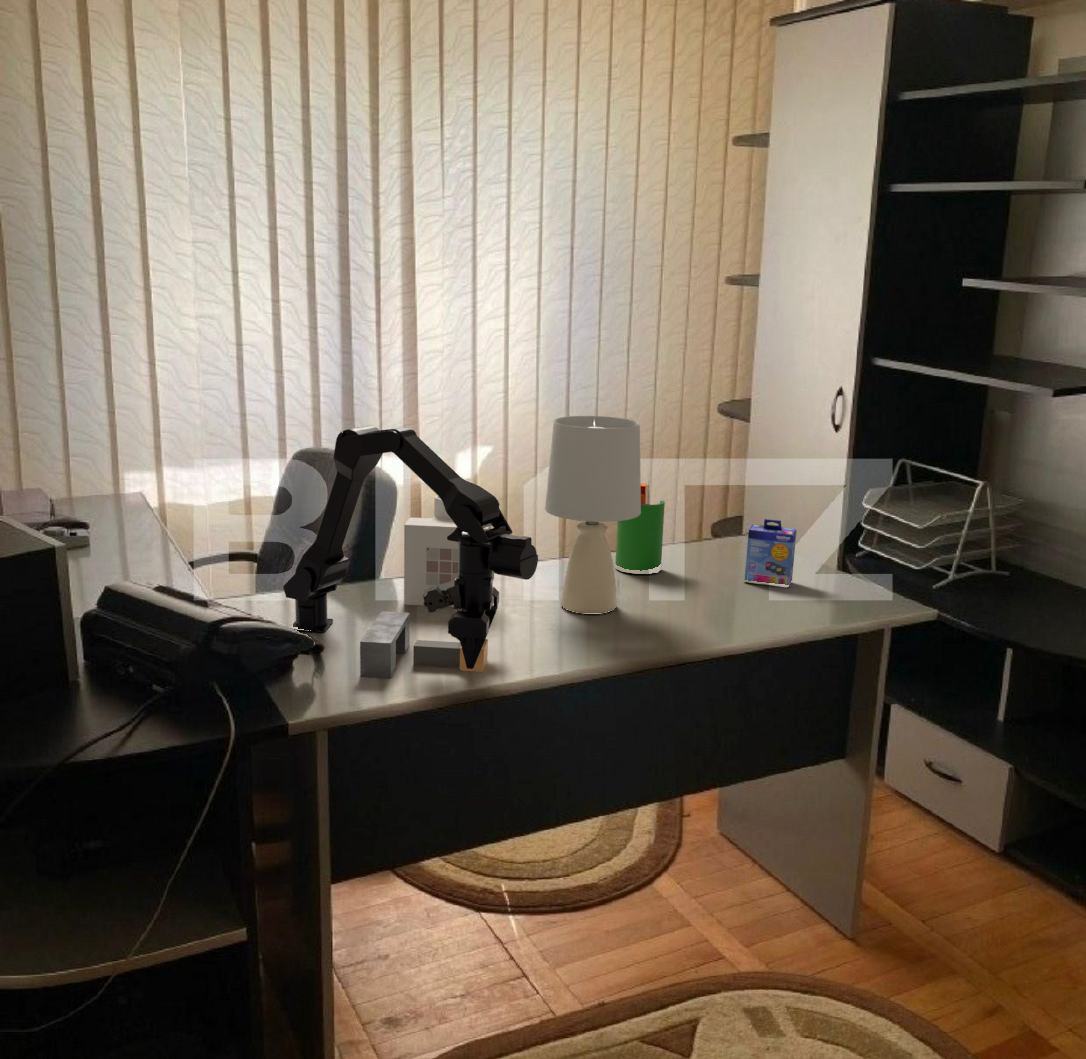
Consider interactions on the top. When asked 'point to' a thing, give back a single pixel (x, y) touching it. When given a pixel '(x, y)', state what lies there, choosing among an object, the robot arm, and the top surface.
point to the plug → (446, 655)
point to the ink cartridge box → (770, 553)
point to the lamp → (593, 500)
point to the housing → (384, 644)
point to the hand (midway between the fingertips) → (473, 658)
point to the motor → (641, 537)
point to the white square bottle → (429, 553)
